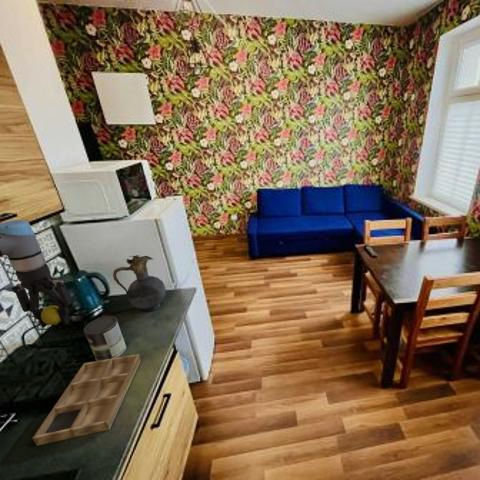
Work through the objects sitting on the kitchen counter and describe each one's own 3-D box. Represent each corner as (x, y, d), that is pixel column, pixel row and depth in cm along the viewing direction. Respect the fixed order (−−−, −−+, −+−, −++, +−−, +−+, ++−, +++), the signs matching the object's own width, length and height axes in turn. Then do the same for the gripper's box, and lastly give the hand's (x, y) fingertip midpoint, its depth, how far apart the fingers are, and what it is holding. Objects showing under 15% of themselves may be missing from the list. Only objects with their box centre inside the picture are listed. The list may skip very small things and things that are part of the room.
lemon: (65, 325, 96) (57, 307, 93) (44, 331, 93) (35, 313, 90) (67, 317, 100) (60, 299, 97) (47, 323, 97) (39, 304, 94)
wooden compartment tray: (36, 445, 76) (32, 438, 75) (86, 369, 100) (83, 363, 98) (109, 429, 80) (106, 422, 79) (140, 360, 104) (138, 353, 103)
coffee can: (96, 366, 101) (84, 338, 96) (94, 351, 108) (82, 323, 102) (128, 352, 107) (118, 324, 102) (124, 338, 114) (114, 312, 109)
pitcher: (167, 310, 132) (153, 256, 121) (122, 319, 126) (102, 263, 114) (170, 298, 142) (157, 247, 130) (128, 306, 135) (110, 253, 124)
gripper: (71, 259, 93) (91, 313, 102) (4, 265, 88) (31, 321, 97) (58, 269, 86) (81, 326, 95) (-15, 276, 82) (16, 335, 90)
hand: (56, 323), depth 96 cm, fingers closed on lemon, 5 cm apart
